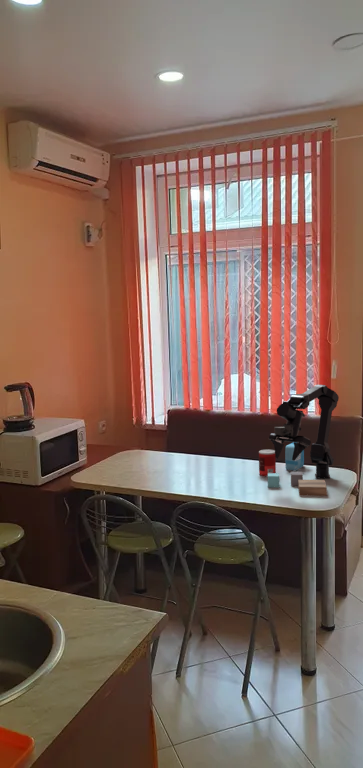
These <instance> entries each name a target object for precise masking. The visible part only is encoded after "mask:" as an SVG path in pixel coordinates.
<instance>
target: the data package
mask: <svg viewBox="0 0 363 768" xmlns="http://www.w3.org/2000/svg"><path fill="white" fill-rule="evenodd" d="M296 443H297V442H296ZM284 452H285V454H284V455H285V459H284V460H285V470H286V471H291V472H297V470H300V469H301V468H303V467H304V465H305V449H304V450H303V451H302V452H301V453H300V454H299V456H298V457H297V458H296V459H295V461H293V460H292V457H293V452H294V442H290V443H289V444H287V445H285V451H284Z"/></svg>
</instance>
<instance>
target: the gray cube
mask: <svg viewBox="0 0 363 768" xmlns="http://www.w3.org/2000/svg"><path fill="white" fill-rule="evenodd" d="M298 480H304V478H303V471H290V486H291V487H292V486H293V487H298Z"/></svg>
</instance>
